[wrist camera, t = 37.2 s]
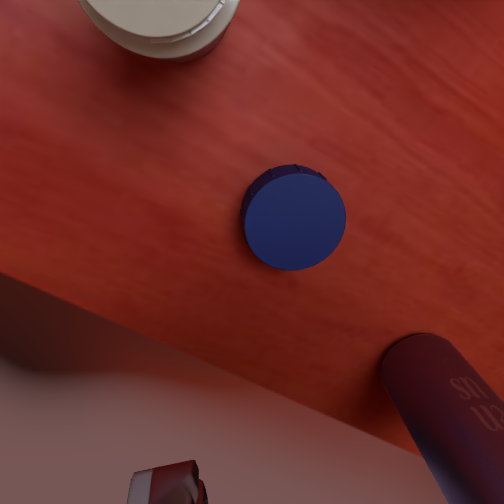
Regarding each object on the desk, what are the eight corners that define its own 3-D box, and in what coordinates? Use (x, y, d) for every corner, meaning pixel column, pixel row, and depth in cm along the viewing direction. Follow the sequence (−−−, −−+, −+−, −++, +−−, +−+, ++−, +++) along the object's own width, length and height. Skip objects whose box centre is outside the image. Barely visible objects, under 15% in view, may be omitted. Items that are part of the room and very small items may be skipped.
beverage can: (367, 389, 33) (482, 619, 19) (391, 325, 30) (542, 535, 17) (436, 395, 34) (592, 619, 20) (464, 334, 31) (662, 538, 18)
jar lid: (261, 150, 24) (266, 158, 22) (350, 182, 26) (363, 192, 24) (228, 240, 26) (230, 254, 24) (312, 265, 28) (321, 281, 26)
